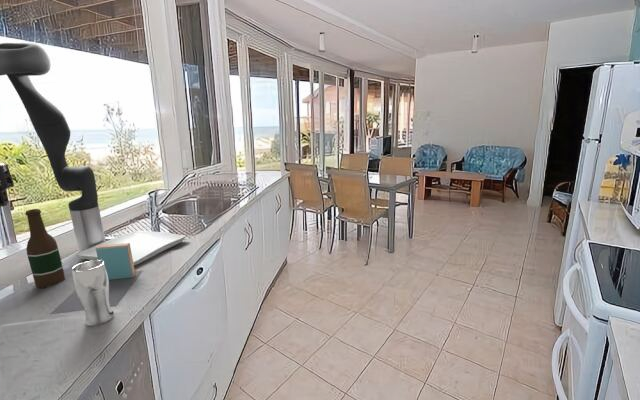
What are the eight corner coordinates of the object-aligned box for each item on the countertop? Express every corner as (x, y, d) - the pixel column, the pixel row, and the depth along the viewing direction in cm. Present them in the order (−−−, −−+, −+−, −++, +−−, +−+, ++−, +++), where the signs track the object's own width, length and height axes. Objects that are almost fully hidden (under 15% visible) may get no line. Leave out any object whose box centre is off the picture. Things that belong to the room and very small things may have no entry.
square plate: (75, 263, 119) (73, 253, 118) (138, 237, 144) (136, 229, 143) (132, 272, 110) (130, 261, 109) (188, 242, 135) (187, 234, 134)
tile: (105, 277, 105) (98, 245, 102) (135, 274, 107) (129, 242, 104) (101, 281, 103) (94, 248, 100) (132, 278, 104) (126, 245, 102)
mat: (90, 277, 107) (90, 275, 107) (143, 271, 110) (143, 270, 109) (50, 315, 86) (49, 313, 86) (116, 307, 89) (116, 305, 88)
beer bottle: (29, 290, 99) (8, 214, 94) (43, 279, 107) (24, 208, 101) (59, 286, 101) (41, 212, 96) (70, 275, 109) (54, 205, 103)
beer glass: (110, 308, 88) (99, 257, 85) (120, 317, 84) (109, 263, 80) (79, 321, 83) (66, 266, 79) (88, 331, 79) (75, 274, 75)
